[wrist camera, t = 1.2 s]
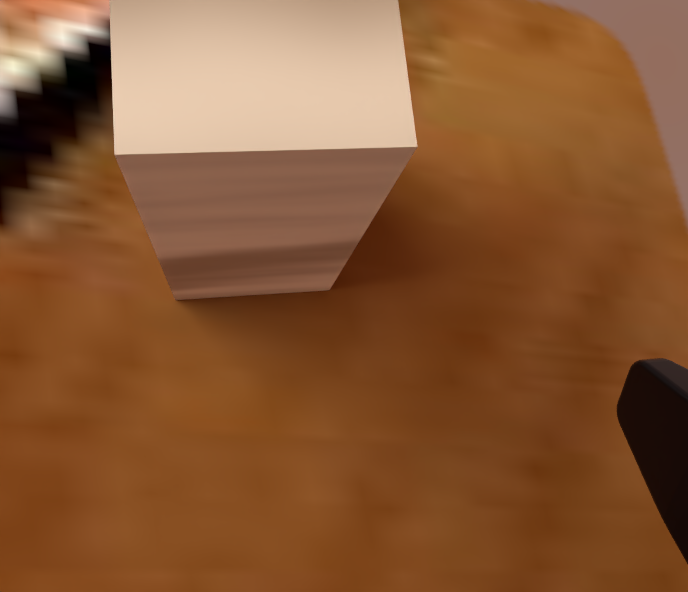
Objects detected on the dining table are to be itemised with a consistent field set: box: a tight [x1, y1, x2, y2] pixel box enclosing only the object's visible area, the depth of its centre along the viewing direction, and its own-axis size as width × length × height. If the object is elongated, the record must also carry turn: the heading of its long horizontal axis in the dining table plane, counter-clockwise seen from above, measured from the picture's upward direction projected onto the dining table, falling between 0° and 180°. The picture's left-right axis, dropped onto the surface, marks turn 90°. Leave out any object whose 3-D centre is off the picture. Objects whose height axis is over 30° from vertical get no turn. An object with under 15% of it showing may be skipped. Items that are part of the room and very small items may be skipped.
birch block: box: [110, 0, 417, 300], centre depth 17 cm, size 5×5×11 cm
